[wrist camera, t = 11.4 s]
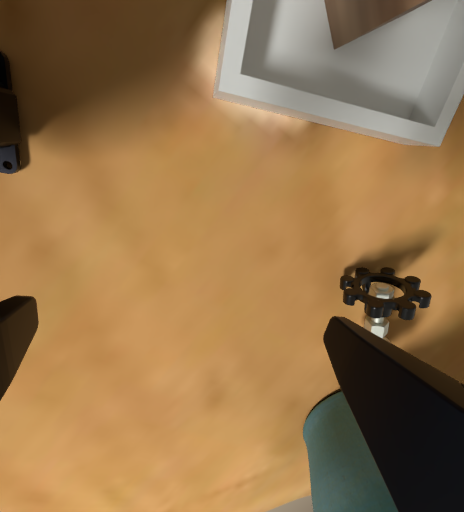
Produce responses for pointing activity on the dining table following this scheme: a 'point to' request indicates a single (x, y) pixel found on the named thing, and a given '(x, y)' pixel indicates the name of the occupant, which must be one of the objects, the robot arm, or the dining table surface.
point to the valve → (383, 297)
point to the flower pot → (342, 462)
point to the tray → (346, 68)
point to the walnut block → (363, 16)
